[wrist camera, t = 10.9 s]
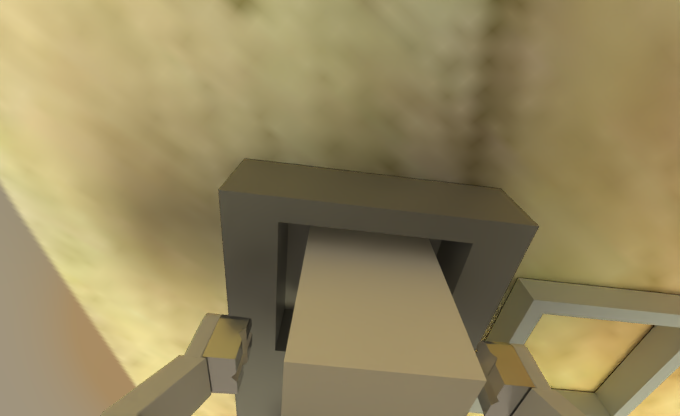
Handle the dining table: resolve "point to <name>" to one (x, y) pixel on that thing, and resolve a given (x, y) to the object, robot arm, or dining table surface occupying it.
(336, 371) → the plug
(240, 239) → the grey double frame
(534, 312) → the holder rim
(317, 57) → the dining table surface
